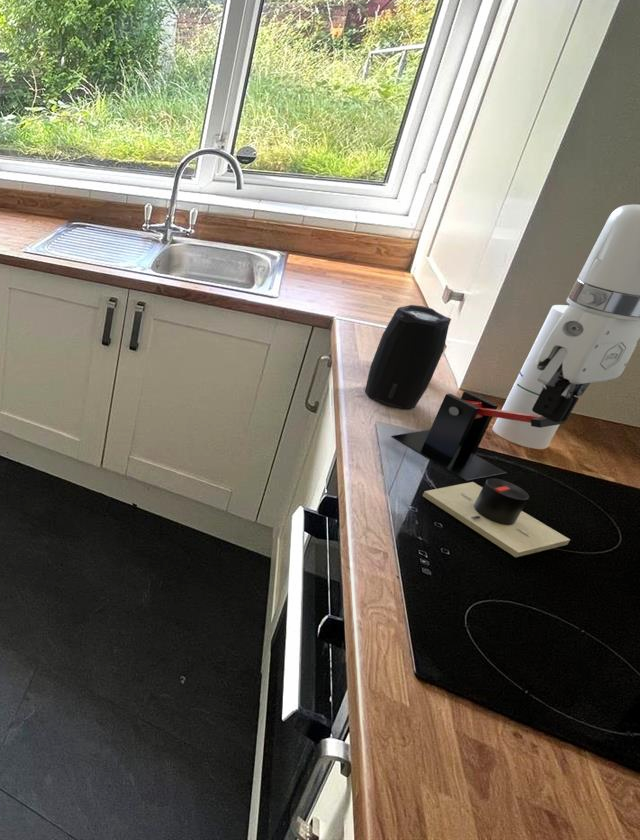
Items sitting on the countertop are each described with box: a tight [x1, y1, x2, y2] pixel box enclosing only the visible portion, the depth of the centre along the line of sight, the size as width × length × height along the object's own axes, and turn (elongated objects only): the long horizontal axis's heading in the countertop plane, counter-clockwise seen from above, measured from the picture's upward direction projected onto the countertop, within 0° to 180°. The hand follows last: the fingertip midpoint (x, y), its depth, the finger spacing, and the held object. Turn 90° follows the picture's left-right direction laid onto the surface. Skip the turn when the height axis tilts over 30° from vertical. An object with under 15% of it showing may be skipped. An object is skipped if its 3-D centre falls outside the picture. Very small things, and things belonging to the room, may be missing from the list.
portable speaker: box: [364, 304, 452, 411], centre depth 110 cm, size 9×9×20 cm
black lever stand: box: [390, 390, 508, 482], centre depth 95 cm, size 12×9×12 cm
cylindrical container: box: [492, 304, 569, 450], centre depth 98 cm, size 7×7×25 cm
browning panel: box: [422, 481, 571, 558], centre depth 83 cm, size 12×10×2 cm
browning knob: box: [474, 478, 530, 525], centre depth 82 cm, size 4×4×5 cm
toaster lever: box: [464, 400, 565, 428], centre depth 89 cm, size 12×5×2 cm, turn 15°
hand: (548, 416), depth 84 cm, fingers closed
